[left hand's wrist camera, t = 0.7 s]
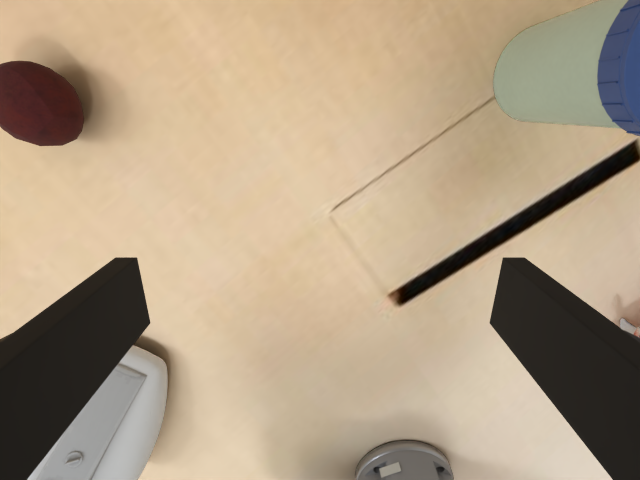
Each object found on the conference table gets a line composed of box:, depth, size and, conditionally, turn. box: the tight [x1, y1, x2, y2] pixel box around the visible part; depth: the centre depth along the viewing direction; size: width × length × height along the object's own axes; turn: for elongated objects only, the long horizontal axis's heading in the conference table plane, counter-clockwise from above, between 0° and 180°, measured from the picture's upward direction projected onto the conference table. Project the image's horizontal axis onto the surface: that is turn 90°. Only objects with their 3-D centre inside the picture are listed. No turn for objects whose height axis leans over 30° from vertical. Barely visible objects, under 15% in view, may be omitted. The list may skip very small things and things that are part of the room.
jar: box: [493, 0, 628, 128], centre depth 28 cm, size 9×9×17 cm
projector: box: [27, 345, 168, 480], centre depth 44 cm, size 22×23×15 cm
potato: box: [0, 61, 84, 146], centre depth 33 cm, size 7×8×7 cm
